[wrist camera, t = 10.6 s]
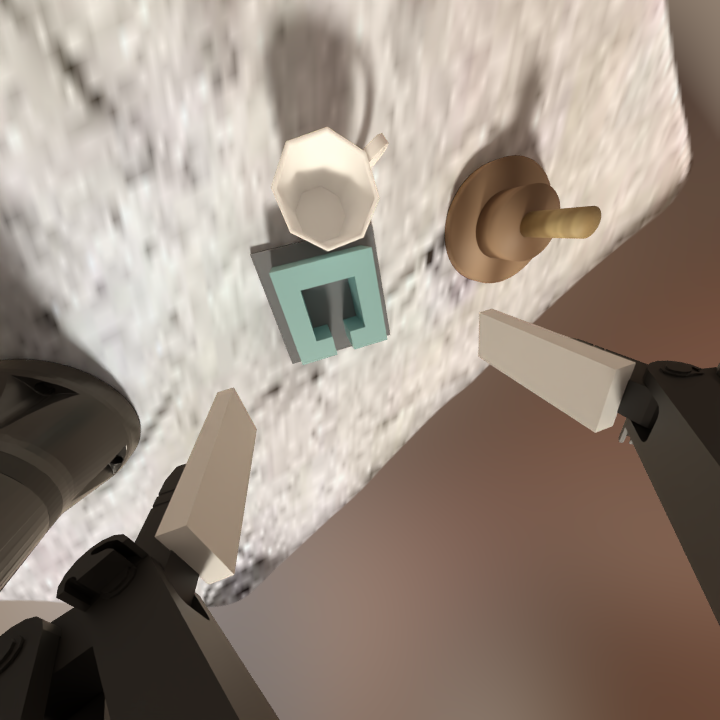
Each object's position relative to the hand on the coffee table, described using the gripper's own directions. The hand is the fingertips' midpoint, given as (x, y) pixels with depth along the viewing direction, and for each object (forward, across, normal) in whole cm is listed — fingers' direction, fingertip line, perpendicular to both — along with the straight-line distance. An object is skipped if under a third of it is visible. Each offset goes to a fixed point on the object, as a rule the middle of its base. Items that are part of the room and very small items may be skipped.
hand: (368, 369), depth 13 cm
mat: (+17, 0, 0) cm, 17 cm away
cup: (+17, +3, +8) cm, 19 cm away
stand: (+16, +20, +3) cm, 26 cm away
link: (+16, 0, 0) cm, 16 cm away
